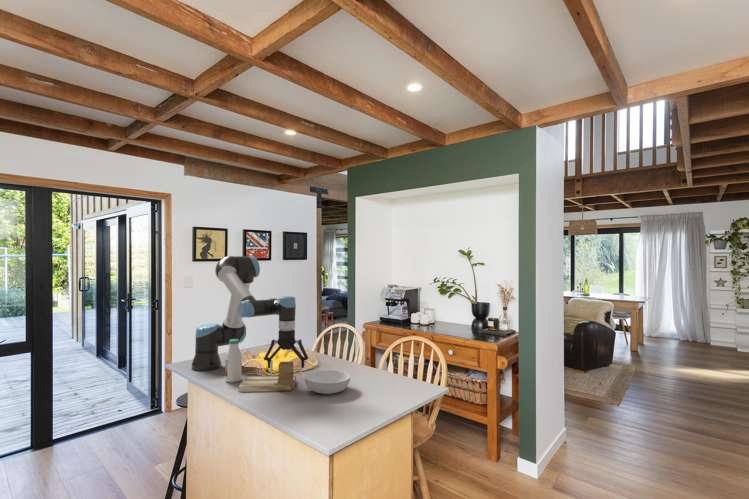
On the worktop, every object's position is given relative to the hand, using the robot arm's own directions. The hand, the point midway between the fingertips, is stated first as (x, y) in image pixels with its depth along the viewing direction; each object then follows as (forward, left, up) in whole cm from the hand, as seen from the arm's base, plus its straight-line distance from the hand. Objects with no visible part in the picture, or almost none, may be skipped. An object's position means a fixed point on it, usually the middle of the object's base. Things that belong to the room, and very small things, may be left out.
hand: (285, 374), depth 181 cm
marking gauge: (+1, 0, -5) cm, 5 cm away
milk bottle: (-13, -27, -6) cm, 31 cm away
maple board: (-3, -8, -6) cm, 11 cm away
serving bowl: (+5, +20, -6) cm, 21 cm away
